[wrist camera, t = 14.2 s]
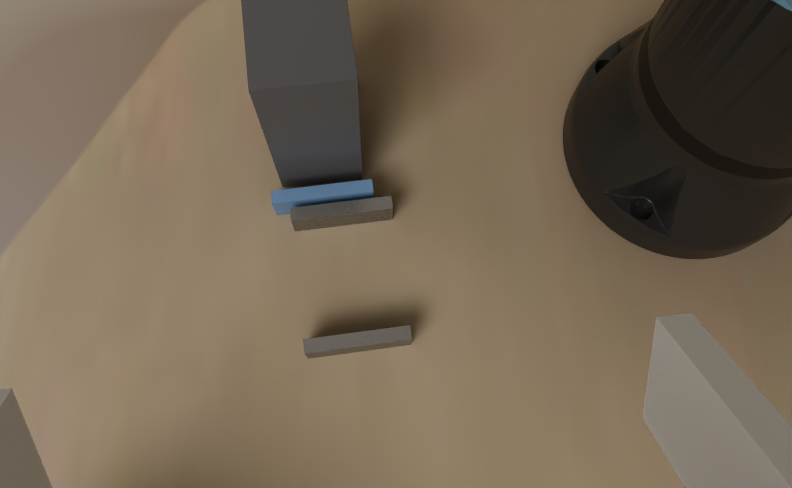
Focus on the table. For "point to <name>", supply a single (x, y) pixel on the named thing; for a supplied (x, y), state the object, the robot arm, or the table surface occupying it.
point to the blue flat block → (321, 194)
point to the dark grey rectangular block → (305, 87)
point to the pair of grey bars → (337, 217)
